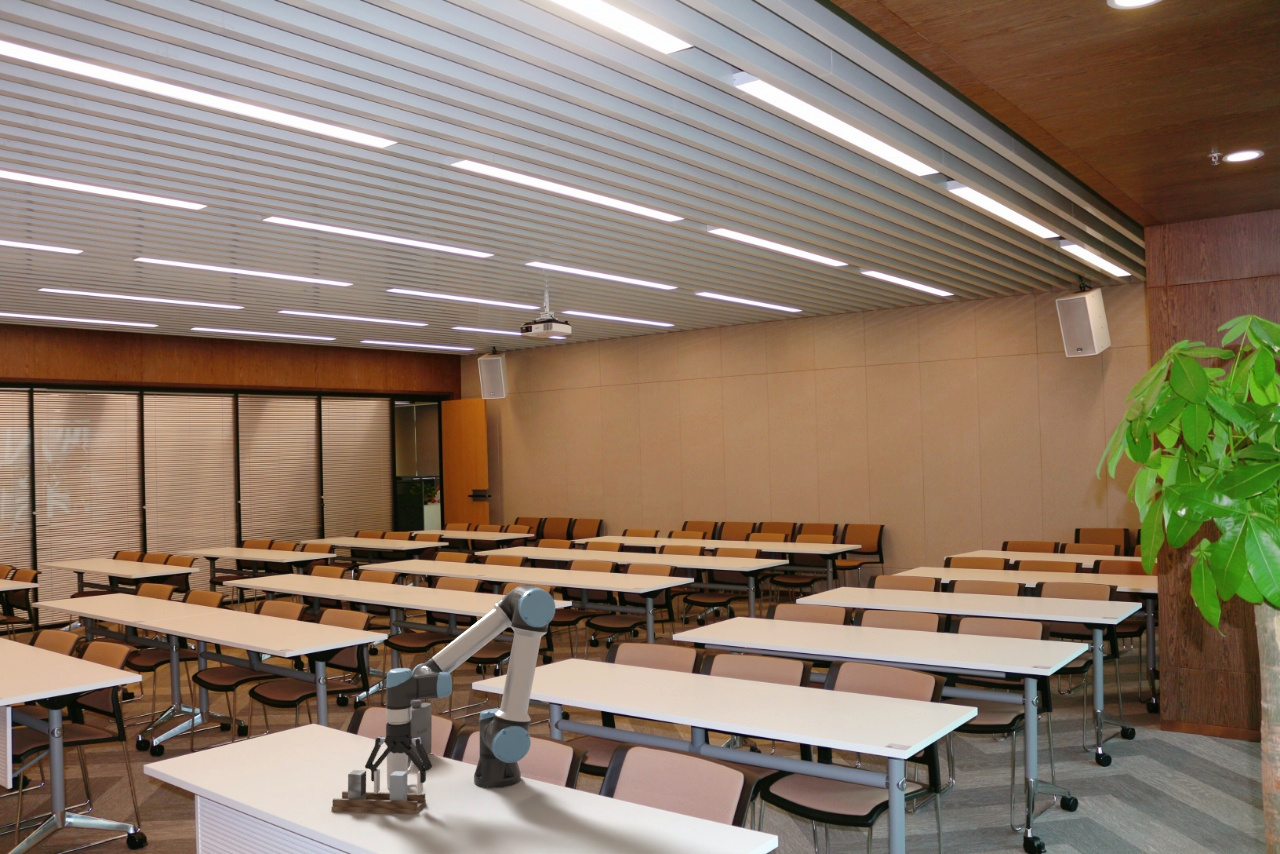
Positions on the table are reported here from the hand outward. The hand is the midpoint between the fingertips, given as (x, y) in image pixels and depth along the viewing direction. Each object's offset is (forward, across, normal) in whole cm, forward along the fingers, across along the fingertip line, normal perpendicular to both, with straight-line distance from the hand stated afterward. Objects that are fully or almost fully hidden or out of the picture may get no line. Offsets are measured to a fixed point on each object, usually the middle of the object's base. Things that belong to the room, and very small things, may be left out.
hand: (398, 792), depth 287 cm
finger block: (+3, 0, 0) cm, 3 cm away
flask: (+5, +13, -51) cm, 53 cm away
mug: (+5, +7, -21) cm, 23 cm away
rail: (+4, +6, 0) cm, 7 cm away
